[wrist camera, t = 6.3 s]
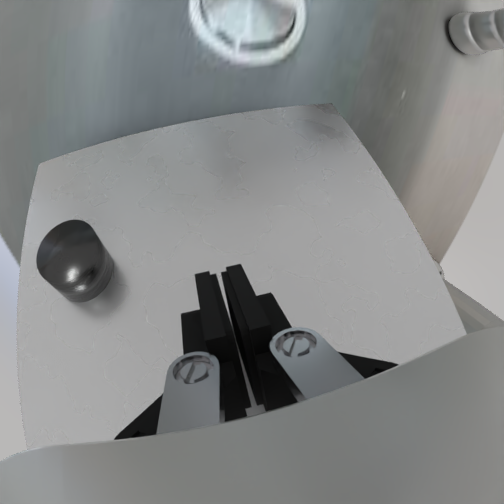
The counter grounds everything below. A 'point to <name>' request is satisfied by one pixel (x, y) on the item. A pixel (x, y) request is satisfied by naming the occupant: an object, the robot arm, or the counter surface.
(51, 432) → the lid
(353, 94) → the counter surface
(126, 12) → the counter surface
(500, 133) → the counter surface
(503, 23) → the plastic bottle
